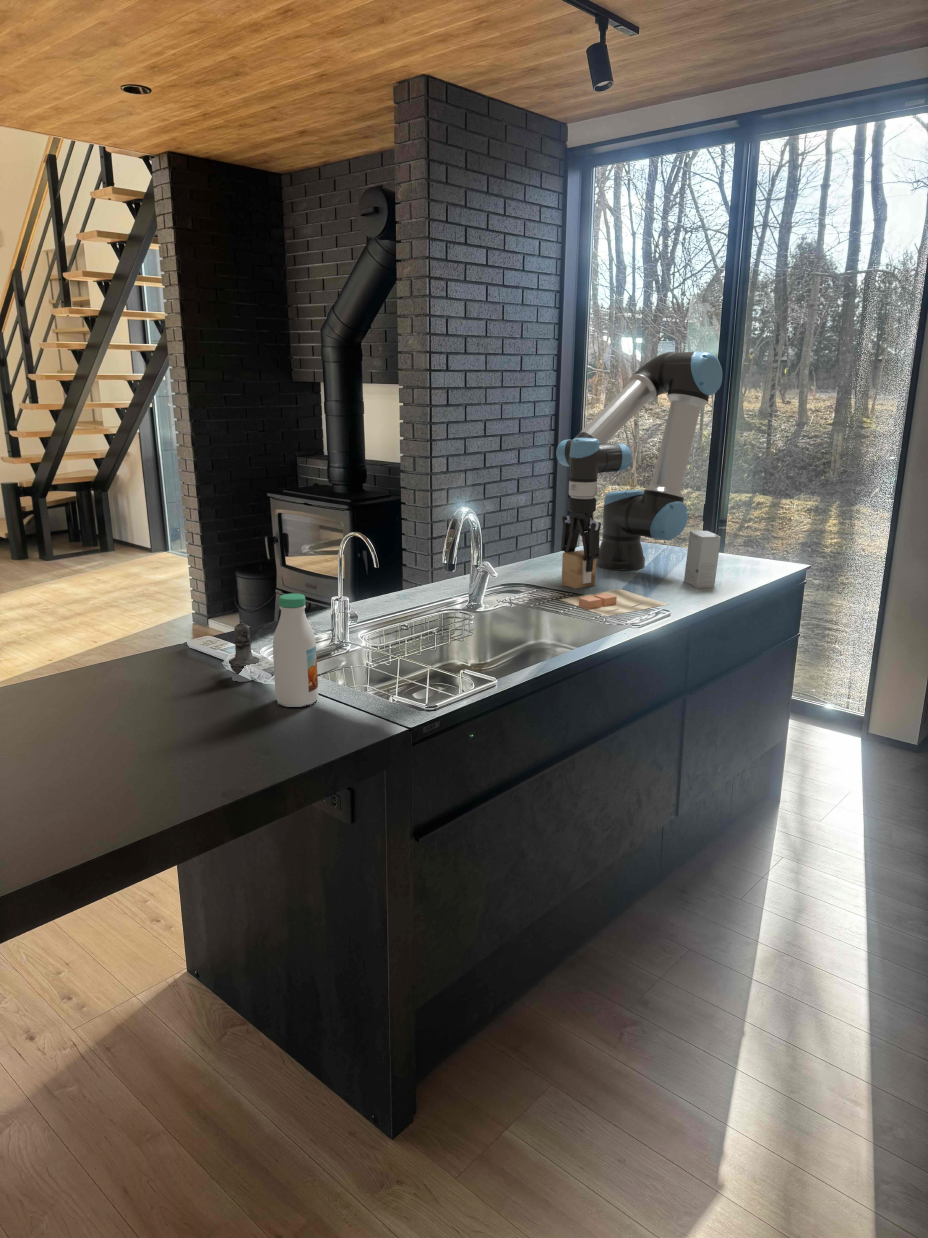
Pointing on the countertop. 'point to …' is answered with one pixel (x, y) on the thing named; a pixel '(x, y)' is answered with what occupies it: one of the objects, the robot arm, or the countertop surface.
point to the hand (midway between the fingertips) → (578, 580)
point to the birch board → (620, 603)
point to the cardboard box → (575, 570)
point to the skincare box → (702, 559)
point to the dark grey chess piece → (242, 648)
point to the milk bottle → (294, 654)
